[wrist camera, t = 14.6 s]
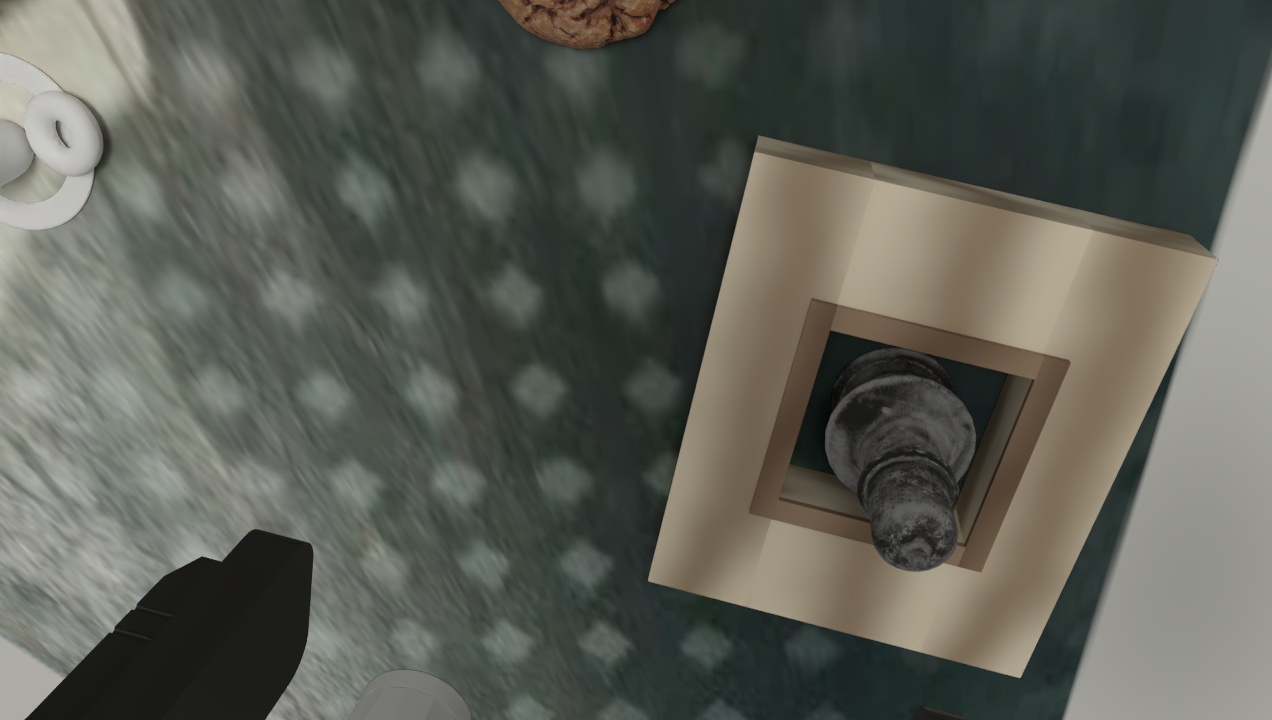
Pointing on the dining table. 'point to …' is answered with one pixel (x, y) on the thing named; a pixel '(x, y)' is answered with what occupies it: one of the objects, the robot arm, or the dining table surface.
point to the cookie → (585, 19)
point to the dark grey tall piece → (902, 452)
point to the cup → (410, 698)
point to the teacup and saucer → (47, 147)
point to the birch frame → (937, 325)
